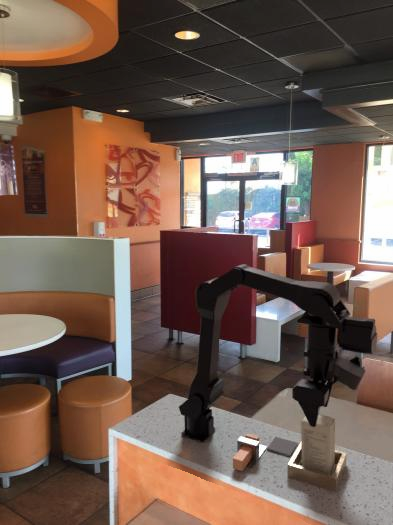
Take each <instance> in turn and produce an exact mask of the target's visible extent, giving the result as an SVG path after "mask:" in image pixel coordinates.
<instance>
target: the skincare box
mask: <svg viewBox="0 0 393 525" xmlns="http://www.w3.org/2000/svg"><path fill="white" fill-rule="evenodd" d="M300 423H301V427H300V432H301V433H300V434H301V436H300V437H301V440H300V443H301V461H300V463H301V466H302V467H306V468H309V469H312V470H316V471H319V472H322V473H326V474H329V475H332V476H333V475H334V472H335V470H336V468H335V466H336V465H335V450H336V449H335V448H336V445H335V443H336V436H335V435H336V418H335V417H331V416H327V415H323V414H319V415H318V420H317V424H316V427H312V426H310V425H309V422H308V420H307V418H306V416H305V415H303V417H302V418H301V420H300Z"/></svg>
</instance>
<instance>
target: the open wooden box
mask: <svg viewBox="0 0 393 525" xmlns="http://www.w3.org/2000/svg"><path fill="white" fill-rule="evenodd" d="M347 455H348V452H345V451H341V450H337V449H335V466H336V468H335V470H334V473H333V475H329V474H326V473H322V472H319V471H316V470H312V469H309V468H306V467H302V465H300V463H301V442H300V443H298V445H297V447H296V448H295V450H294V452H293V453H292V455H291V457H290V460H289V462H288V463H287V472H286V473H287V474H286V476H287V478H288V479H291V480H295V481H298V482H300V483H304V484H307V485H310V486H314V487H316V488H319V489H322V490H326V491H329V492H333V493H337V491H338V488H339V485H340V482H341V480H342V477H343V474H344V471H345V469H346V467H347V459H348V458H347Z"/></svg>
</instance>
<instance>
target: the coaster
mask: <svg viewBox="0 0 393 525" xmlns="http://www.w3.org/2000/svg"><path fill="white" fill-rule="evenodd" d="M298 446H299V443H298V442H296V441H292V440H288V439H286V438H282V437H278V436H275V437H274V438H273V439H272V441H271V442H270V443H269V445H268V446H267V448H266V451H270V452H272V453H275V454H279V455H282V456H287V457H289V458H292V456H293V454H294V453H295V451H296V449H297V448H298Z"/></svg>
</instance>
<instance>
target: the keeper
mask: <svg viewBox="0 0 393 525" xmlns="http://www.w3.org/2000/svg"><path fill="white" fill-rule="evenodd" d="M236 444H237V446H236V447H237V448H236V452H238V451H239V450H240V449H241V447H242V446H243V445H247V446H250V447H253V457H252V459H251V460H250V461H249V463H248V464H247V465H246V467H245V468H250V469H253V468H254V467H255V465H256V464H257V462H258V461H259V459H260V458H261V457H262V455H263V453H264V452H265V451H266V450H267V448H268V446H266V445H263V444H260V440H259V441H255V440H252V439H248V438H245V436H239V438H238V439H237V443H236Z"/></svg>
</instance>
